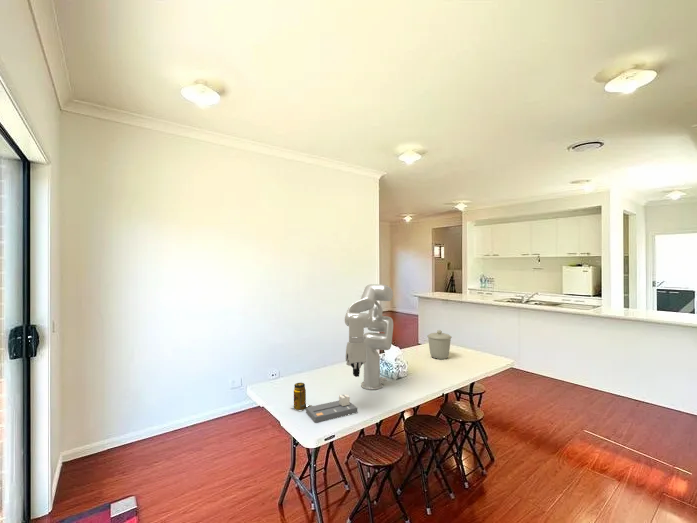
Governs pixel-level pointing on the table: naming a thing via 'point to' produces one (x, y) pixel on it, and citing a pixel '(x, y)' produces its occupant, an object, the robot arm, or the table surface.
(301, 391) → the condiment
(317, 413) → the fader console
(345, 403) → the fader knob
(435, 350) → the canister
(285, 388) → the table surface
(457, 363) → the table surface
